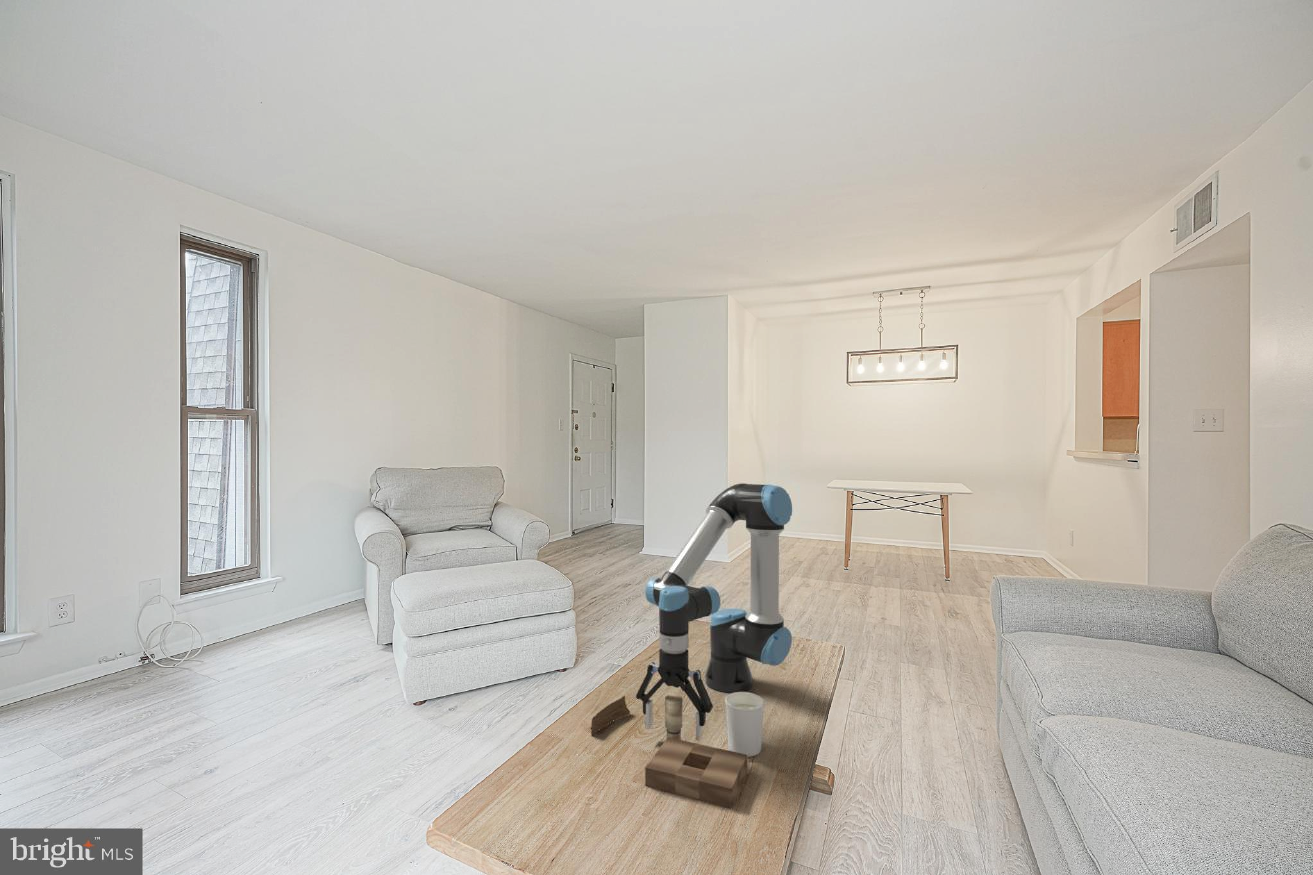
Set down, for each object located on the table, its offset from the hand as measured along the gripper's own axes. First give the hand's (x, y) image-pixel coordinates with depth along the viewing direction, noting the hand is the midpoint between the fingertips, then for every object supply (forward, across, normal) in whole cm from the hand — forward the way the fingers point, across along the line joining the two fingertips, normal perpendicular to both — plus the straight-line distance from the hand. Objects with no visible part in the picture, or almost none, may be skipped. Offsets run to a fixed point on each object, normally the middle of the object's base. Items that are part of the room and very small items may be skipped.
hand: (673, 732), depth 140 cm
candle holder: (+4, +17, +6) cm, 18 cm away
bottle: (+3, 0, 0) cm, 3 cm away
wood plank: (+4, -20, +3) cm, 21 cm away
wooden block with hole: (+3, +10, -11) cm, 15 cm away
